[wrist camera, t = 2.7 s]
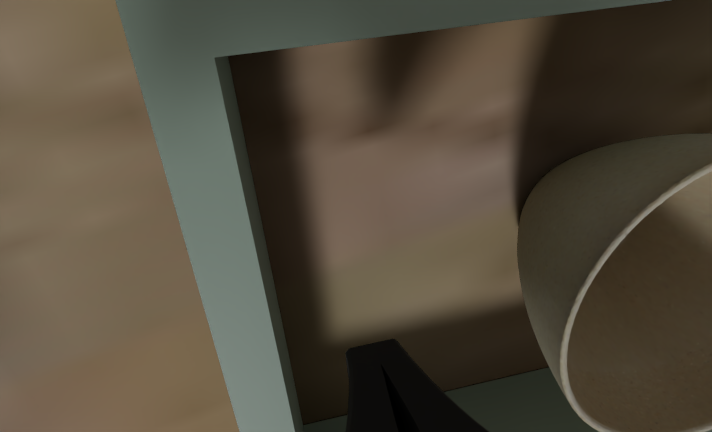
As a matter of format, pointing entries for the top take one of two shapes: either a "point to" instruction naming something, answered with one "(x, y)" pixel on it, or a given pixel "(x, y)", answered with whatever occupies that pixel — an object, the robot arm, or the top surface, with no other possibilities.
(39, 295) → the top surface
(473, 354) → the top surface
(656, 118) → the top surface
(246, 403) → the cold frame
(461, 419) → the robot arm
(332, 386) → the top surface
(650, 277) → the flower pot
